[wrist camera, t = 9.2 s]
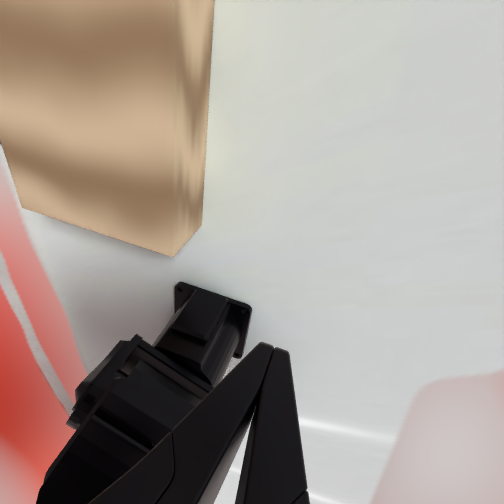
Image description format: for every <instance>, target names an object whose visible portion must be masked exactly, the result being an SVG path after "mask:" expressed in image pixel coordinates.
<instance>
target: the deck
mask: <svg viewBox="0 0 504 504" xmlns="http://www.w3.org/2000/svg"><path fill="white" fill-rule="evenodd" d="M213 16H214V0H0V141H1V144H2V147H3V150H4V153H5V156H6V160H7V163H8V166H9V169H10V172H11V175H12V178H13V181H14V184H15V188H16V191H17V194H18V197H19V200H20V203H21V206H22V208H25V209H28V210H31V211H34V212H37V213H40V214H43V215H46V216H49V217H52V218H55V219H58V220H61V221H64V222H67V223H71V224H74V225H77V226H80V227H83V228H86V229H89V230H92V231H95V232H98V233H101V234H104V235H107V236H110V237H113V238H116V239H119V240H122V241H125V242H128V243H131V244H134V245H137V246H140V247H143V248H146V249H150V250H153V251H156V252H159V253H162V254H165V255H168V256H171V257H174V256H175V254H176V253H177V252H178V251H179V250H180V249H181V248H182V247H183V245H184V244H185V243H186V242H187V241H188V240H189V239H190V238H191V237H192V235H193V234H194V233H195V232H196V231H197V230H198V229H199V228H200V227H201V225H202V208H203V190H204V173H205V155H206V138H207V121H208V103H209V86H210V68H211V51H212V34H213Z"/></svg>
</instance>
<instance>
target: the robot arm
mask: <svg viewBox="0 0 504 504" xmlns="http://www.w3.org/2000/svg"><path fill="white" fill-rule="evenodd" d="M245 310H246V311H245ZM251 314H252V308H251V306H250V305H248V304H245V303H242V302H239V301H236V300H233V299H231V298H228V297H225V296H222V295H219V294H216V293H213V292H210V291H207V290H204V289H201V288H198V287H195V286H192V285H189V284H187V283H184V282H178V283H177V284H176V286H175V314H174V316H173V317H172V318H171V320H170V321H169V323H168V324H167V325H166V327H165V328H164V330H163V331H162V332H161V334H160V335H159V337H158V338H157V339H156V341H155V342H154V344H153V345H152V346H151V345H150V344H148V343H147V342H145V341H144V340H142V339H143V338H142V337H140V336H139V335H137V334H136V335H135V336H134V337H133V338H132V339H131V341H122V340H120V341H119V342H118V344H117V345H116V346H115V347H114V348H113V350H112V351H111V352H110V353H109V354H108V356H107V357H106V358H105V359H104V360H103V361H102V362H101V363H100V364H99V365H98V366H97V367H96V368H95V369H94V370H93V371H92V372H91V373H90V374H89V375H88V376H87V377H86V378H85V379H84V381H82V382H81V384H80V385H79V386H78V387H77V388H76V390H75V395H76V404H75V405H74V407H73V409H72V410H73V411H74V412H73V413H72V414H71V416H70V417H69V419H68V421H67V422H66V424H67V425H68V426H70V427H71V428H73V429H76V432H75V433H74V435H73V436H72V437H71V439H70V440H69V441H68V443H67V444H66V446H65V447H64V448H63V450H62V451H61V452H60V454H59V455H58V457H57V458H56V459H55V461H54V462H53V463H52V465H51V466H50V467H49V469H48V471H47V473H46V475H45V478H44V484H43V485H42V486H41V488H40V491H39V494H38V498H37V501H36V504H214V501H215V499H216V497H217V495H218V493H219V490H220V488H221V486H222V484H223V482H224V480H225V477H226V475H227V473H228V471H229V469H230V466H231V464H232V462H233V460H234V458H235V456H236V453H237V451H238V449H239V447H240V445H241V442H242V440H243V438H244V436H245V434H246V432H247V429H248V427H249V425H250V422H251V426H250V430H249V435H248V440H247V445H246V450H245V455H244V460H243V465H242V470H241V475H240V480H239V485H238V490H237V495H236V501H235V504H310V502H309V494H308V491H306V490H307V481H306V473H305V466H304V458H303V451H302V444H301V436H300V429H299V421H298V414H297V407H296V399H295V392H294V384H293V377H292V369H291V362H290V355H289V352H288V351H286V350H283V349H281V348H278V347H276V348H274V347H273V346H272V345H270V344H267V343H264V342H260V343H259V344H258V345H257V346H256V347H255V348H254V349H253V350H252V351H251V352H250V353H249V354H248V355H247V356H246V357H245V358H244V359H243V360H242V361H241V362H240V363H239V364H238V365H237V366H236V367H235V368H234V369H233V370H232V371H231V372H230V373H229V374H228V375H227V376H226V377H225V378H224V379H223V380H222V378H223V376H224V374H225V372H226V369H227V367H228V365H229V363H230V360H231V358H232V357H234V358H238V359H240V358H241V357H242V355H243V353H244V348H245V343H246V338H247V333H248V328H249V324H250V319H251ZM273 350H274V351H273ZM221 380H222V381H221ZM253 414H254V415H253ZM252 417H253V418H252ZM251 419H252V421H251Z"/></svg>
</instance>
